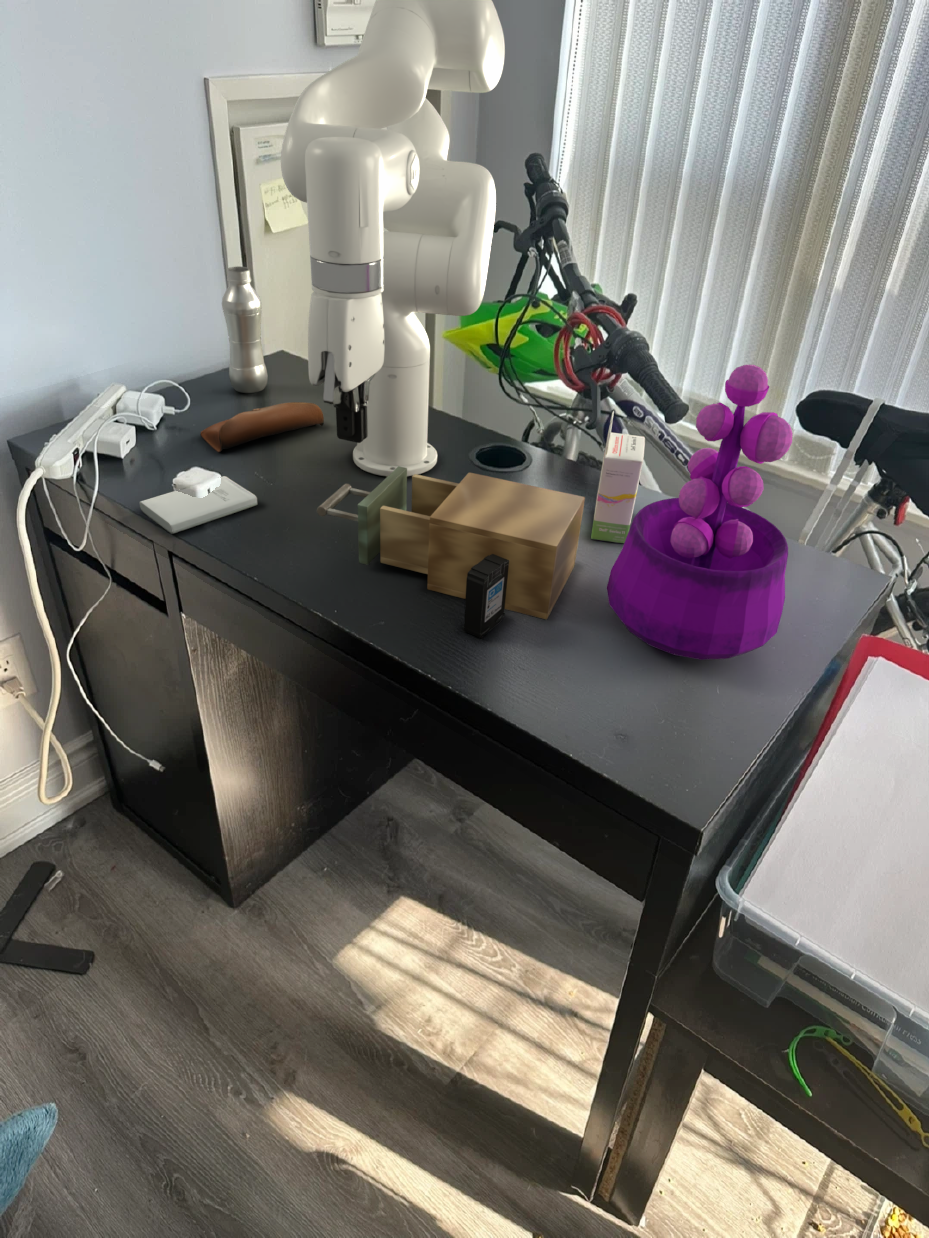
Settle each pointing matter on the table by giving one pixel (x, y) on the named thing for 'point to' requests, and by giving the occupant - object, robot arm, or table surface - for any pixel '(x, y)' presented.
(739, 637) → the decorative plant
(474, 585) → the ink cartridge
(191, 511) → the hard drive
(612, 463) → the ink box
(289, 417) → the sunglasses case
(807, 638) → the table surface
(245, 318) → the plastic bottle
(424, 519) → the drawer
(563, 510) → the cabinet
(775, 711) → the table surface
